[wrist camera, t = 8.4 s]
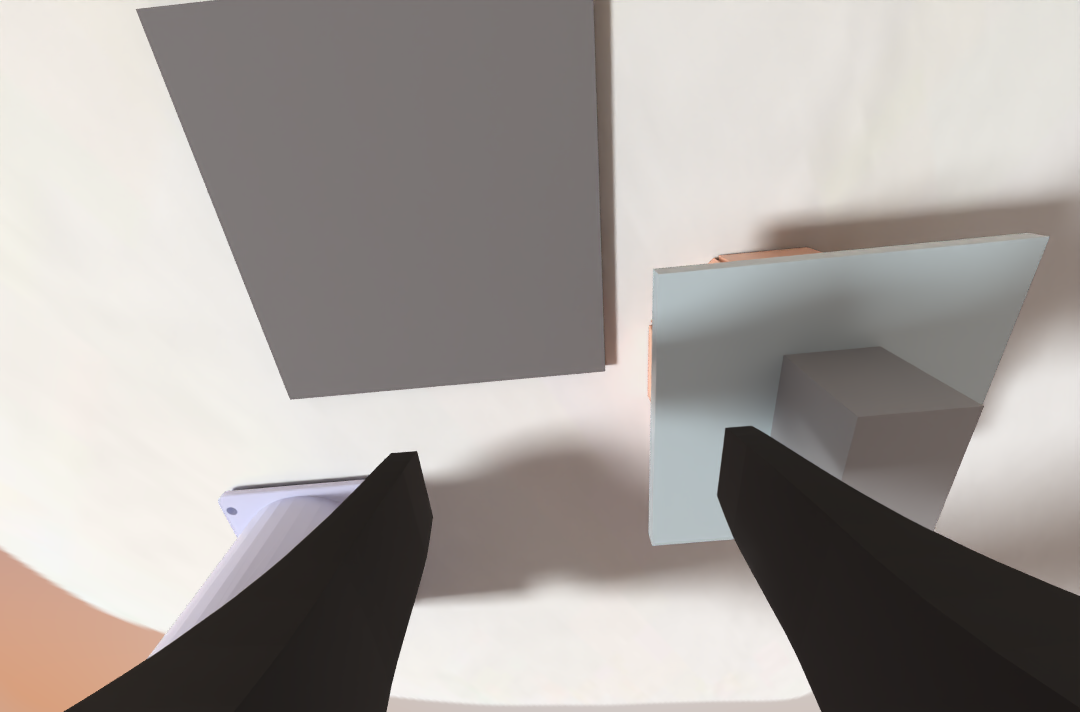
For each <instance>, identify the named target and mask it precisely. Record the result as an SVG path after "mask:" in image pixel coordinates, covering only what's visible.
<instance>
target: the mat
mask: <svg viewBox="0 0 1080 712" xmlns="http://www.w3.org/2000/svg"><path fill="white" fill-rule="evenodd" d="M136 11H137V13H138V16H139V18H140V21H141V23H142V26H143V28H144V31H145V34H146V36H147V39H148V41H149V44H150V46H151V49H152V51H153V54H154V56H155V59H156V61H157V64H158V66H159V69H160V71H161V74H162V77H163V79H164V82H165V84H166V87H167V89H168V92H169V94H170V97H171V99H172V102H173V104H174V107H175V109H176V112H177V114H178V117H179V120H180V122H181V125H182V127H183V130H184V132H185V135H186V137H187V140H188V142H189V145H190V147H191V150H192V152H193V155H194V157H195V160H196V163H197V165H198V168H199V170H200V173H201V175H202V178H203V180H204V183H205V185H206V188H207V190H208V193H209V195H210V198H211V200H212V203H213V206H214V208H215V211H216V213H217V216H218V218H219V221H220V223H221V226H222V228H223V231H224V233H225V236H226V238H227V241H228V244H229V246H230V249H231V251H232V254H233V256H234V259H235V261H236V264H237V266H238V269H239V271H240V274H241V276H242V279H243V281H244V284H245V287H246V289H247V292H248V294H249V297H250V299H251V302H252V304H253V307H254V309H255V312H256V314H257V317H258V319H259V322H260V324H261V327H262V330H263V332H264V335H265V337H266V340H267V342H268V345H269V347H270V350H271V352H272V355H273V357H274V360H275V362H276V365H277V367H278V370H279V373H280V375H281V378H282V380H283V383H284V385H285V388H286V390H287V393H288V395H289V398H290V399H302V398H313V397H324V396H335V395H346V394H357V393H368V392H379V391H391V390H402V389H413V388H424V387H435V386H446V385H457V384H468V383H480V382H491V381H502V380H513V379H524V378H535V377H546V376H557V375H569V374H580V373H591V372H602V371H605V351H604V319H603V288H602V256H601V225H600V193H599V162H598V130H597V99H596V67H595V36H594V4H593V0H213V1H204V2H196V3H187V4H178V5H169V6H160V7H151V8H142V9H136Z"/></svg>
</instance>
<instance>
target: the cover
mask: <svg viewBox="0 0 1080 712" xmlns="http://www.w3.org/2000/svg"><path fill="white" fill-rule="evenodd" d="M1049 238H1050V236H1044V235H1039V234H1033V233H1020V234H1009V235H999V236H989V237H978V238H968V239H958V240H947V241H937V242H927V243H917V244H906V245H896V246H886V247H875V248H865V249H855V250H844V251H834V252H824V253H813V254H803V255H793V256H783V257H772V258H762V259H752V260H741V261H731V262H721V263H710V264H700V265H690V266H679V267H669V268H659V269H653V310H652V366H651V423H650V479H649V537H650V540H651V544H652V546H657V545H669V544H681V543H694V542H706V541H718V540H731V539H734V538H733V536H732V533H731V531H730V528H729V526H728V523H727V521H726V519H725V516H724V513H723V511H722V508H721V505H720V503H719V500H718V497H717V490H718V482H719V474H720V466H721V458H722V450H723V442H724V434H725V428H728V427H741V426H753V427H755V428H757V429H759V430H760V431H762V432H764V433H765V434H767V435H769V436H770V437H772V438H774V439H775V440H777V441H778V442H780V443H782V444H783V445H785V446H786V447H788V448H789V449H791V450H793V451H794V452H796V453H797V454H799V455H800V456H802V457H804V458H805V459H807V460H808V461H810V462H812V463H813V464H815V465H816V466H818V467H820V468H821V469H823V470H824V471H826V472H828V473H829V474H831V475H833V476H834V477H836V478H837V479H839V480H841V481H842V482H844V483H846V484H847V485H849V486H851V487H853V488H854V489H856V490H858V491H859V492H861V493H863V494H865V495H866V496H868V497H870V498H872V499H874V500H875V501H877V502H879V503H881V504H883V505H884V506H886V507H888V508H890V509H891V510H893V511H895V512H897V513H899V514H901V515H902V516H904V517H906V518H908V519H910V520H912V521H914V522H916V523H918V524H920V525H922V526H924V527H926V528H928V529H930V530H932V531H934V528H935V526H936V523H937V521H938V518H939V516H940V513H941V511H942V509H943V506H944V504H945V501H946V499H947V496H948V494H949V491H950V489H951V486H952V484H953V481H954V479H955V476H956V474H957V471H958V469H959V466H960V464H961V461H962V459H963V457H964V454H965V452H966V449H967V447H968V444H969V442H970V439H971V437H972V434H973V432H974V429H975V427H976V424H977V422H978V419H979V417H980V414H981V412H982V410H983V407H984V406H983V405H982V404H983V402H984V399H985V397H986V394H987V392H988V389H989V387H990V385H991V382H992V380H993V377H994V375H995V372H996V370H997V367H998V365H999V362H1000V360H1001V357H1002V355H1003V352H1004V350H1005V347H1006V345H1007V342H1008V340H1009V337H1010V335H1011V332H1012V330H1013V327H1014V325H1015V322H1016V320H1017V317H1018V315H1019V312H1020V310H1021V307H1022V305H1023V302H1024V300H1025V297H1026V295H1027V292H1028V290H1029V287H1030V285H1031V282H1032V280H1033V277H1034V275H1035V272H1036V270H1037V267H1038V265H1039V262H1040V260H1041V258H1042V255H1043V253H1044V250H1045V248H1046V245H1047V243H1048V240H1049Z"/></svg>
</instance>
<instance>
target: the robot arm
mask: <svg viewBox="0 0 1080 712" xmlns="http://www.w3.org/2000/svg"><path fill="white" fill-rule="evenodd" d="M717 497H718V500H719V503H720V505H721V508H722V511H723V513H724V516H725V519H726V521H727V523H728V526H729V528H730V531H731V533H732V536H733V538H734V540H735V541H736V543H737V545H738V547H739V549H740V551H741V553H742V555H743V556H744V558H745V560H746V562H747V564H748V566H749V568H750V569H751V571H752V573H753V575H754V577H755V579H756V580H757V582H758V584H759V586H760V588H761V589H762V591H763V593H764V595H765V597H766V599H767V600H768V602H769V604H770V606H771V608H772V610H773V611H774V613H775V615H776V617H777V619H778V620H779V622H780V624H781V626H782V628H783V630H784V631H785V633H786V635H787V637H788V639H789V641H790V643H791V645H792V647H793V649H794V651H795V653H796V655H797V657H798V659H799V662H800V664H801V666H802V668H803V671H804V673H805V675H806V678H807V680H808V682H809V684H810V687H811V689H812V691H813V694H814V696H815V698H816V700H817V703H818V705H819V707H820V710H821V712H1080V596H1078V595H1076V594H1073V593H1071V592H1068V591H1066V590H1063V589H1061V588H1058V587H1056V586H1053V585H1051V584H1049V583H1046V582H1044V581H1042V580H1039V579H1037V578H1035V577H1032V576H1030V575H1028V574H1025V573H1023V572H1021V571H1018V570H1016V569H1014V568H1011V567H1009V566H1007V565H1004V564H1002V563H999V562H997V561H995V560H993V559H991V558H988V557H986V556H984V555H982V554H980V553H977V552H975V551H973V550H971V549H969V548H967V547H964V546H962V545H960V544H958V543H956V542H954V541H952V540H950V539H948V538H946V537H944V536H942V535H940V534H938V533H936V532H934V531H932V530H930V529H928V528H926V527H924V526H922V525H920V524H918V523H916V522H914V521H912V520H910V519H908V518H906V517H904V516H902V515H901V514H899V513H897V512H895V511H893V510H891V509H890V508H888V507H886V506H884V505H883V504H881V503H879V502H877V501H875V500H874V499H872V498H870V497H868V496H866V495H865V494H863V493H861V492H859V491H858V490H856V489H854V488H853V487H851V486H849V485H847V484H846V483H844V482H842V481H841V480H839V479H837V478H836V477H834V476H833V475H831V474H829V473H828V472H826V471H824V470H823V469H821V468H820V467H818V466H816V465H815V464H813V463H812V462H810V461H808V460H807V459H805V458H804V457H802V456H800V455H799V454H797V453H796V452H794V451H793V450H791V449H789V448H788V447H786V446H785V445H783V444H782V443H780V442H778V441H777V440H775V439H774V438H772V437H770V436H769V435H767V434H765V433H764V432H762V431H760V430H759V429H757V428H755V427H753V426H741V427H728V428H725V434H724V442H723V450H722V458H721V466H720V474H719V482H718V490H717ZM218 503H219V505H220V507H221V509H222V511H223V512H224V514H225V516H226V518H227V520H228V522H229V523H230V525H231V527H232V529H233V531H234V533H235V534H236V536H237V539H236V541H235V542H234V543H233V545H232V546H231V547H230V549H229V550H228V551H227V553H226V554H225V555H224V557H223V558H222V559H221V561H220V562H219V563H218V565H217V566H216V568H215V569H214V570H213V572H212V573H211V574H210V576H209V577H208V578H207V580H206V581H205V582H204V584H203V585H202V586H201V588H200V589H199V590H198V592H197V593H196V594H195V596H194V597H193V598H192V600H191V601H190V602H189V604H188V605H187V606H186V608H185V609H184V610H183V612H182V613H181V614H180V616H179V617H178V618H177V620H176V621H175V622H174V624H173V625H172V626H171V628H170V629H169V630H168V632H167V633H166V634H165V636H164V637H163V638H162V640H161V641H160V642H159V644H158V645H157V647H156V648H155V649H154V650H153V652H152V653H151V654H150V656H149V657H148V658H147V659H146V660H145V661H143V662H142V663H140V664H139V665H137V666H136V667H134V668H133V669H131V670H130V671H128V672H127V673H125V674H123V675H122V676H120V677H119V678H117V679H116V680H114V681H112V682H111V683H109V684H108V685H106V686H104V687H103V688H101V689H100V690H98V691H96V692H95V693H93V694H92V695H90V696H88V697H87V698H85V699H84V700H82V701H80V702H79V703H77V704H75V705H74V706H72V707H71V708H69V709H67V710H66V711H64V712H386V711H387V706H388V701H389V696H390V690H391V686H392V681H393V677H394V673H395V669H396V665H397V661H398V658H399V654H400V651H401V647H402V644H403V640H404V637H405V633H406V630H407V626H408V623H409V619H410V616H411V612H412V609H413V605H414V602H415V598H416V595H417V591H418V587H419V584H420V580H421V577H422V573H423V569H424V566H425V562H426V558H427V552H428V546H429V540H430V533H431V526H432V519H433V515H432V511H431V507H430V503H429V498H428V494H427V490H426V486H425V482H424V478H423V474H422V470H421V466H420V461H419V457H418V453H417V451H414V452H401V453H391V454H390V455H389V456H388V457H387V458H386V459H385V460H384V461H383V462H382V463H381V464H380V465H379V466H378V467H377V468H376V469H375V470H374V471H373V472H372V473H371V474H370V475H369V476H368V477H367V478H366V479H363V480H352V481H340V482H328V483H316V484H305V485H293V486H281V487H269V488H258V489H246V490H234V491H226V492H224V493H223V494H222V495H221V496H220V497H219V499H218Z"/></svg>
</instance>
